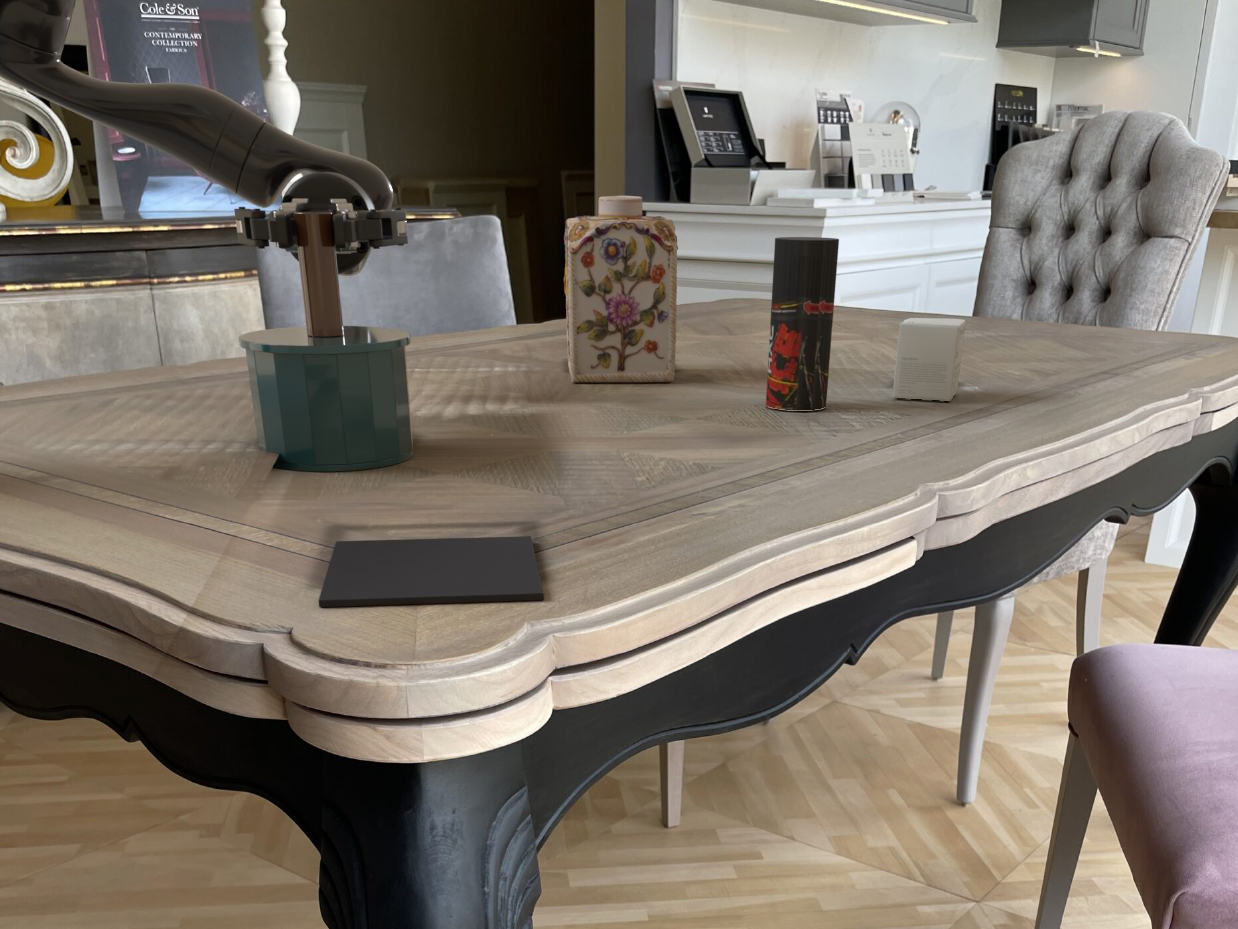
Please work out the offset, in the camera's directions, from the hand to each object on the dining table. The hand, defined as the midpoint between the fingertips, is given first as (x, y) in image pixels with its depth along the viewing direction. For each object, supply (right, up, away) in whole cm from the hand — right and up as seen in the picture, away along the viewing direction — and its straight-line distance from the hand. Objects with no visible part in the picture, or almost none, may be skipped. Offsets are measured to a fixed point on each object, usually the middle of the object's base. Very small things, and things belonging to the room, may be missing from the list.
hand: (311, 232), depth 91 cm
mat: (+12, -29, -18) cm, 36 cm away
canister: (0, -13, +10) cm, 17 cm away
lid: (0, -6, +6) cm, 8 cm away
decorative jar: (+22, +8, +50) cm, 55 cm away
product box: (+54, +2, +39) cm, 66 cm away
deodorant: (+39, -1, +33) cm, 51 cm away
